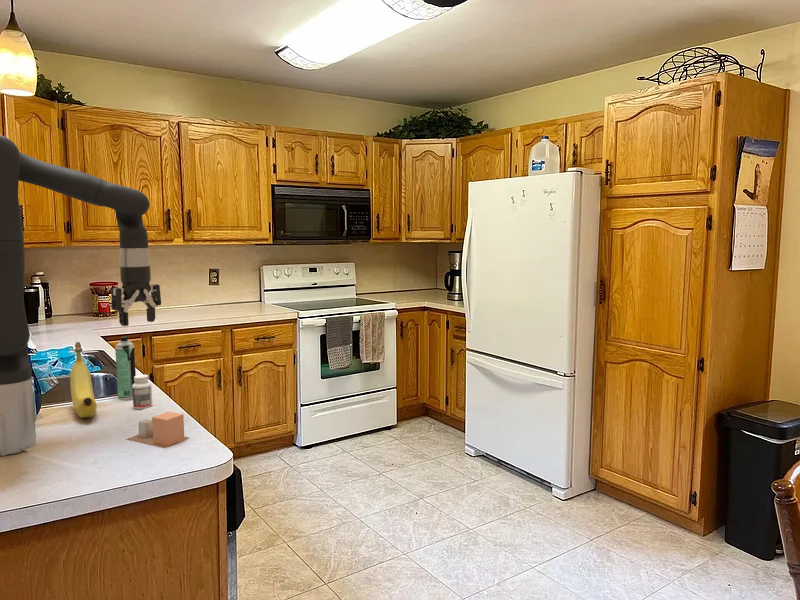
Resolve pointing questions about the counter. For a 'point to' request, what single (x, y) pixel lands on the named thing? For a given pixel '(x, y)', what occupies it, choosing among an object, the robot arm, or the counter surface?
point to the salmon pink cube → (168, 428)
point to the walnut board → (150, 441)
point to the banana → (82, 387)
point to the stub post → (145, 428)
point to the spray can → (125, 368)
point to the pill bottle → (142, 392)
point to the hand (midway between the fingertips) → (138, 323)
